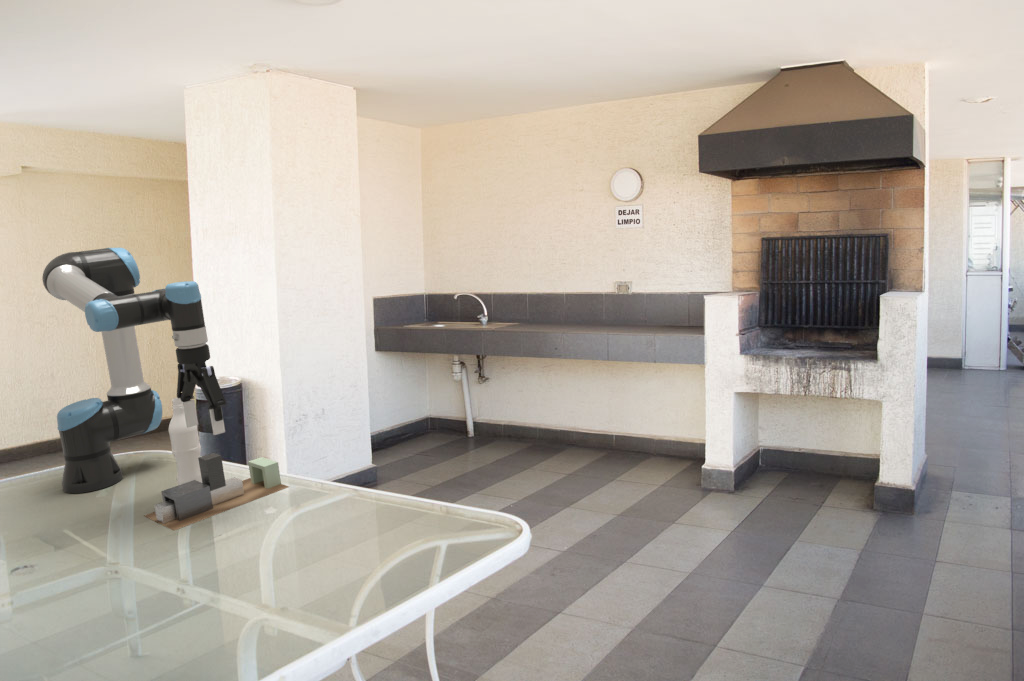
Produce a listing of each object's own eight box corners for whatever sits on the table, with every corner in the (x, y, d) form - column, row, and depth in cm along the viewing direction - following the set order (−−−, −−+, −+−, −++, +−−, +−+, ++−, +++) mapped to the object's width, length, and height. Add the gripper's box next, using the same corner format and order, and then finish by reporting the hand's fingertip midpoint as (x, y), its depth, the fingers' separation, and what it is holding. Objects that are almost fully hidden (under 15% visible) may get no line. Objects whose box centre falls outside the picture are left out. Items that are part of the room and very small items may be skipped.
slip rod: (156, 519, 193) (148, 473, 191) (236, 490, 208) (229, 447, 206) (164, 523, 190) (155, 476, 188) (244, 494, 206) (237, 450, 203)
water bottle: (198, 481, 221) (183, 393, 216) (212, 486, 217) (197, 396, 212) (173, 490, 216) (158, 400, 211) (187, 495, 211) (172, 403, 207)
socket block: (251, 483, 214) (248, 461, 212) (264, 478, 216) (261, 457, 215) (267, 488, 208) (264, 466, 207) (281, 483, 211) (278, 462, 210)
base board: (144, 519, 197) (143, 515, 197) (257, 478, 219) (256, 475, 219) (174, 534, 186) (173, 530, 186) (290, 490, 209) (289, 486, 208)
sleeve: (165, 514, 197) (161, 491, 195) (198, 502, 203) (194, 479, 202) (179, 521, 191) (175, 497, 190) (213, 508, 198) (209, 485, 196)
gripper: (153, 345, 200) (167, 427, 204) (201, 352, 183) (216, 441, 187) (182, 339, 206) (196, 419, 210) (232, 345, 189) (245, 432, 193)
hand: (205, 429), depth 198 cm, fingers open, 13 cm apart
